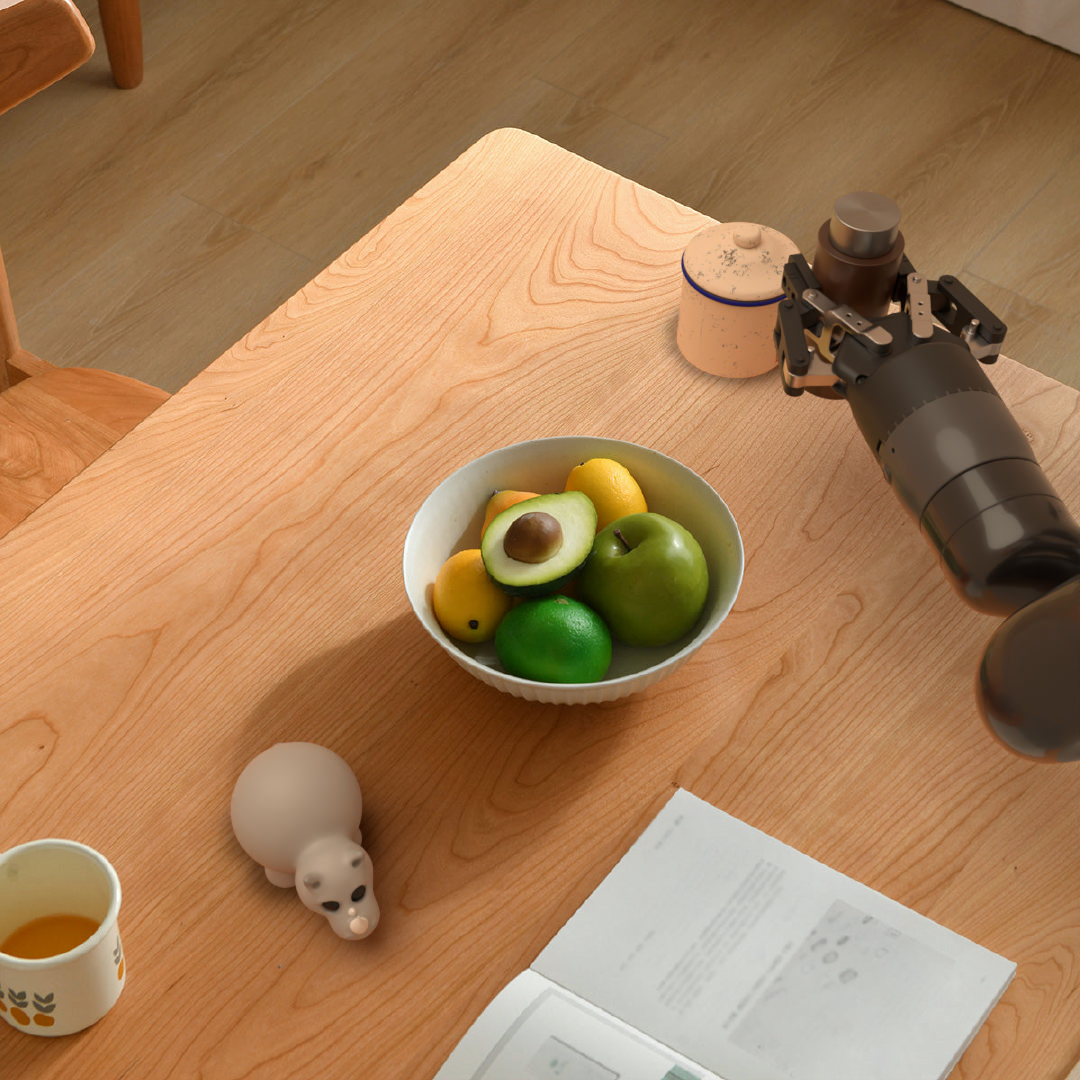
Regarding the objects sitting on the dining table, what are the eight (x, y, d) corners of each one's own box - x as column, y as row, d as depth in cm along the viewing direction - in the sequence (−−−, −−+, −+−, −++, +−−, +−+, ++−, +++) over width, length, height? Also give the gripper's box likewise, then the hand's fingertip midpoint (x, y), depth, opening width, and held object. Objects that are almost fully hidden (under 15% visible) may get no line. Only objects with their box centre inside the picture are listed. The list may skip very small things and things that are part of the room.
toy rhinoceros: (306, 1000, 73) (283, 935, 67) (227, 825, 80) (200, 750, 73) (426, 939, 76) (415, 869, 69) (339, 773, 82) (322, 696, 76)
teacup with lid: (800, 386, 104) (825, 265, 95) (684, 395, 103) (698, 274, 94) (766, 285, 112) (785, 165, 103) (657, 294, 111) (667, 173, 102)
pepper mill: (853, 342, 92) (891, 179, 82) (883, 393, 89) (926, 230, 79) (781, 353, 91) (810, 191, 82) (808, 406, 88) (842, 243, 78)
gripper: (1085, 374, 74) (954, 193, 84) (836, 417, 72) (734, 225, 82) (1045, 469, 79) (927, 288, 90) (814, 511, 77) (721, 320, 88)
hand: (835, 259), depth 86 cm, fingers closed on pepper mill, 5 cm apart
